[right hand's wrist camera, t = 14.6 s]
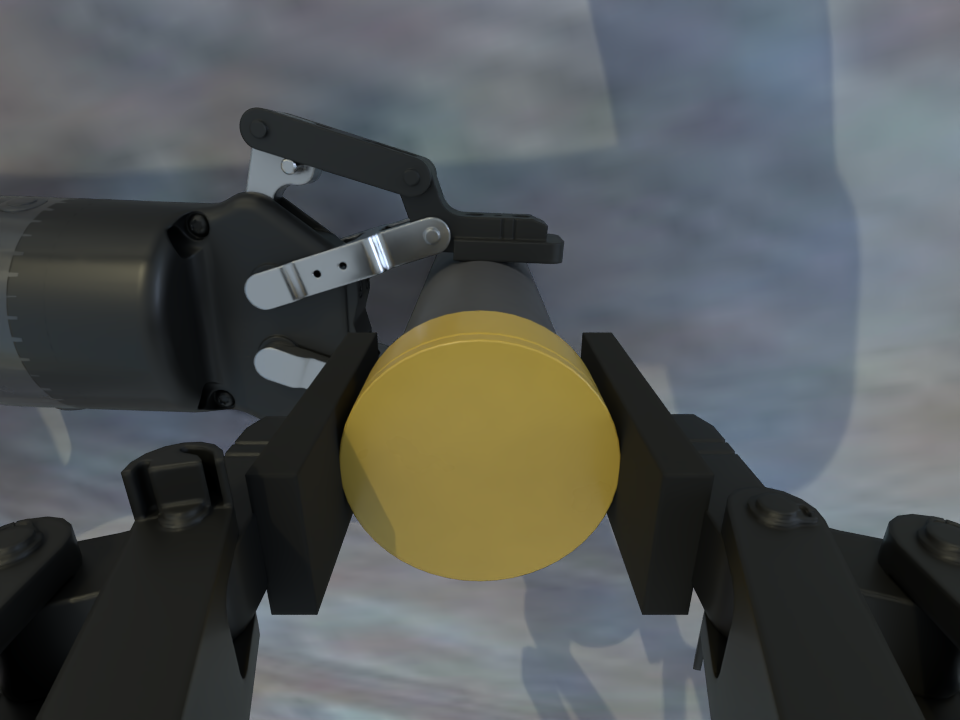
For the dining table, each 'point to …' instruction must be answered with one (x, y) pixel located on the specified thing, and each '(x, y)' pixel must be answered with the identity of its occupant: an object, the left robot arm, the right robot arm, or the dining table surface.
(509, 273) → the dark grey cylinder
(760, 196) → the dining table surface
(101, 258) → the left robot arm
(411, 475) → the lid
